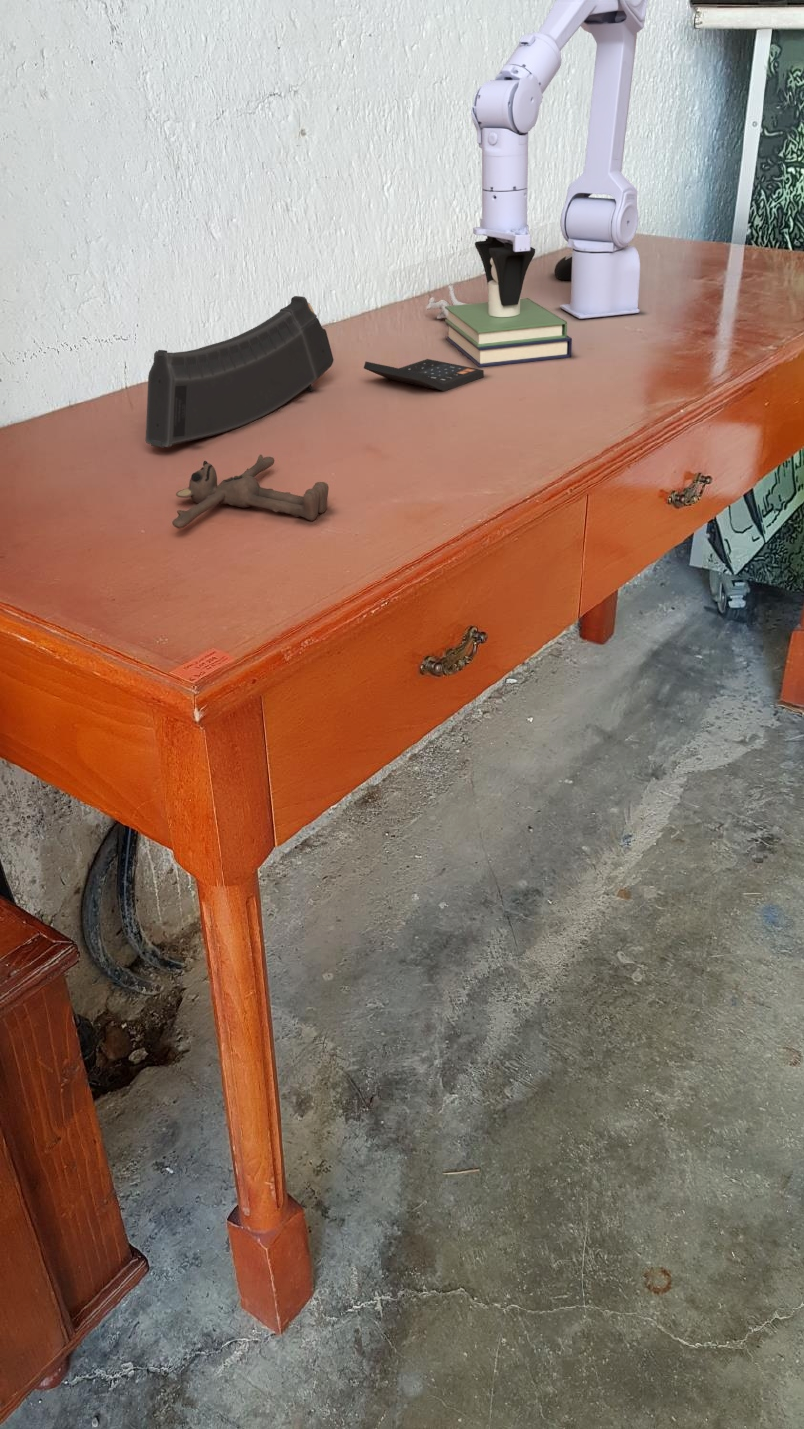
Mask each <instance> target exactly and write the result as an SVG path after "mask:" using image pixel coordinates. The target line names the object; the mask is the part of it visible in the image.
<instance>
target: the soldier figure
mask: <svg viewBox="0 0 804 1429" xmlns="http://www.w3.org/2000/svg"><path fill="white" fill-rule="evenodd" d="M448 284H449V283H448ZM447 287H448V290H449V293H448V294H449V298H450V302H451V303H452V306H454V305H464V304H467V303H465V302H462V301H460V300H458V299H457V297H456V295H455V292H454V290H455V288H454V284H453V283H450V284H449V285H447ZM435 301H436V298H435V297H434V296H431V297H430V298H429V301H428V304H427V305H426V307H425V309H426V311H429V310H431V309H433V310H434V309H435V310H438V309H439V310H440V313H438V314H437V315H436V319H437V320H441V319H448V310H447V309H445V306H451V304H450V303H449V302H448V301H447V300H445V299H441V300H439V301H436V302H435Z"/></svg>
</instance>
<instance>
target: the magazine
mask: <svg viewBox="0 0 804 1429" xmlns="http://www.w3.org/2000/svg"><path fill="white" fill-rule="evenodd" d="M307 299H308V298H306V297H305V296H301V295H294V296H292V297H291V299H290V303H289V304H288V305H287V306H285V307H283V308H281V309H279V311H278V312H277V313H275V314H274V315H272V316H271V317H269V318H268V319H266V320H265V321H263V322H261V323H260V324H258V325H257V326H255V327H252V328H251V329H249V330H246V331H245V332H242V333H241V334H238V335H236V336H233V337H231V338H229V339H225V340H223V341H219V342H215V343H211V344H209V345H205V346H202V347H199V348H196V349H191V350H185V351H176V352H175V351H174V352H168V350H164V349H158V350H156V351H155V352H154V353H153V363H152V366H151V367H150V370H149V372H148V376H147V398H146V399H147V400H146V423H145V424H146V425H145V442H146V444H149V445H150V446H152V447H156V448H161V449H162V448H171V447H172V446H174V445H178V444H183V443H186V442H187V443H188V442H191V441H195V440H200V439H204V438H208V437H212V436H217V435H219V434H222V433H226V432H229V431H232V430H236V429H238V428H241V427H243V426H245V425H248V424H251V423H253V422H255V421H257V420H259V419H261V418H263V417H265V416H267V415H269V414H271V413H273V412H274V411H277V410H278V409H279V408H281V407H282V406H284V405H286V404H287V403H288V402H290V401H291V400H292V399H293V398H295V397H296V396H298V395H299V394H300V393H302V392H303V391H308V392H309V391H310V392H313V391H314V388H313V383H314V382H316V381H317V380H318V379H319V378H320V377H321V376H323V375H324V374H325V373H326V372H327V371H328V370H329V369H330V368H331V367H332V365H333V363H334V355H333V352H332V348H331V344H330V340H329V336H328V333H327V330H326V329H325V328H324V327H323V326H322V324H321V322H320V320H319V318H318V315H317V314H315V310H314V309H313V306H312V305H311V303H310V302H308V300H307Z"/></svg>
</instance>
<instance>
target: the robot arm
mask: <svg viewBox="0 0 804 1429" xmlns="http://www.w3.org/2000/svg"><path fill="white" fill-rule="evenodd" d="M647 7H648V0H555V1H554V3H553V4H552V6H551V8H550V10H549V12H548V13H547V16H546V17H545V19H544V21H543V23H542V24H541V26H540V27H539V30H538V31H534V32H529V33H527V34H523V35H522V36H521V38H520V39H519V41H518V45H517V46H516V47H515V49H514V51H513V52H512V53H511V54H510V56H509V58H508V59H507V61H506V62H505V64H503V67H502V68H501V69H500V71H499V72H498V74H497V75H496V76H495V79H489V80H486V81H485V82H484V83H482V84H481V86H479V88H477V89H476V93H475V94H474V97H473V103H472V106H471V108H470V112H471V119H472V123H473V125H474V127H475V130H476V135H477V136H476V138H477V140H476V141H477V144H478V147H479V148H480V149H481V218H480V222H479V223H480V226H475V227H473V228H472V233H473V234H474V235H476V236H486V238H485V240H479V241H475V242H474V246H475V249H476V251H477V252H478V255H479V257H480V260H481V263H482V265H483V269H484V273H485V279H486V284H487V285H488V282H489V281H492V280H494V279H493V277H492V274H491V269H492V265H491V263H490V259H491V258H492V259H493V262H494V265H495V268H496V272H497V278H498V286H499V295H500V300H501V304H502V305H503V306H509V305H518V302H519V299H521V294H522V290H523V285H524V282H525V277H526V274H527V271H528V270H529V266H530V264H531V263H532V261H533V258H535V257H534V256H535V255H536V249H535V248H534V247H532V246H531V242H532V240H531V238H532V237H531V236H532V235H531V233H529V224H528V182H529V179H528V178H529V177H528V176H529V132H530V131H531V130H532V129H533V128H534V127H535V126H536V124H537V121H538V117H539V112H540V107H541V104H542V102H543V98H544V96H543V94H544V93H545V91H546V90H547V88H548V87H549V85H550V84H551V82H552V80H553V79H554V78H555V76H556V74H557V73H558V72H559V70H560V68H561V66H562V54H561V51H562V49H564V47H565V46H566V45H567V43H568V42H569V41H570V40H571V39H572V37H573V36H574V35H575V34H576V32H577V31H578V30H579V29H580V27H581V28H582V30H584V31H585V32H587V33H588V34H591V36H592V37H593V39H594V41H595V43H596V48H595V49H596V51H595V60H594V69H593V70H594V71H593V79H592V91H591V100H590V107H589V108H590V110H589V120H588V129H587V138H586V139H587V140H586V149H585V158H584V159H585V160H584V167H583V173H582V174H580V175H579V176H578V177H577V178H576V179H574V181H573V182H571V184H569V186H567V190H566V191H567V192H566V197H565V201H564V204H563V207H562V210H561V213H560V220H559V225H560V232H561V235H562V237H563V239H564V240H565V241H566V242H567V248H568V249H572V252H571V254H572V277H571V280H570V284H571V285H570V303H565V304H561V305H560V308H561V309H562V310H564V311H565V312H567V313H568V314H570V315H572V316H573V317H575V318H577V319H580V320H583V319H592V318H601V317H603V318H604V317H612V316H613V317H614V316H621V315H631V314H639V313H640V311H641V310H640V308H639V296H640V282H641V281H640V278H641V260H640V254H639V252H638V249H637V247H635V246H634V245H629V244H630V243H631V242H632V240H633V239H634V237H635V236H636V233H637V229H638V225H639V212H638V189H637V188H636V187H635V186H634V185H633V184H632V183H631V182H630V181H629V180H628V179H627V178H626V176H625V175H624V174H623V173H622V169H623V160H624V152H625V142H626V135H627V125H628V117H629V107H630V100H631V91H632V83H633V75H634V74H633V73H634V64H635V55H636V47H637V38H638V33H639V32H640V31H641V30H643V29H644V27H645V21H646V15H647ZM592 195H607V196H611V197H612V198H609V197H607V198H606V197H593V196H592Z"/></svg>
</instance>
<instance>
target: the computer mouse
mask: <svg viewBox="0 0 804 1429" xmlns="http://www.w3.org/2000/svg"><path fill="white" fill-rule="evenodd" d="M554 275H555V277H556V278H557V279H558V280H561V281H571V277H572V253H569V254H567V255H566V256H564V257H563V258H561V259H560V260H558V262H557V263H556V264H555V267H554Z"/></svg>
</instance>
